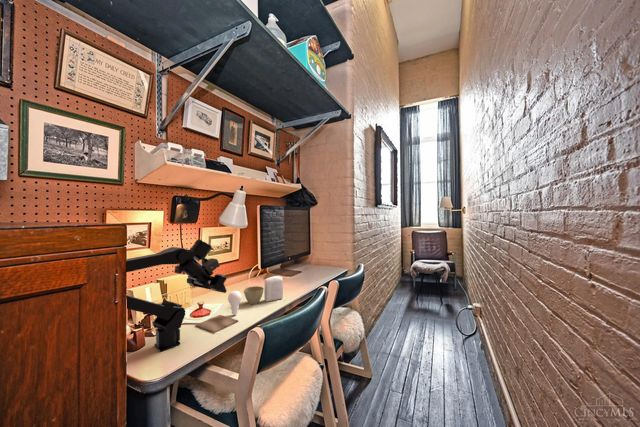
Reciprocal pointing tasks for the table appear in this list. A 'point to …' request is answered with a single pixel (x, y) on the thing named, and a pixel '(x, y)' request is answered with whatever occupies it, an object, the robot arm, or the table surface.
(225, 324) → the coaster
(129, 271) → the robot arm
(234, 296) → the lightbulb
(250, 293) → the flower pot
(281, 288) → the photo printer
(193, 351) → the table surface
